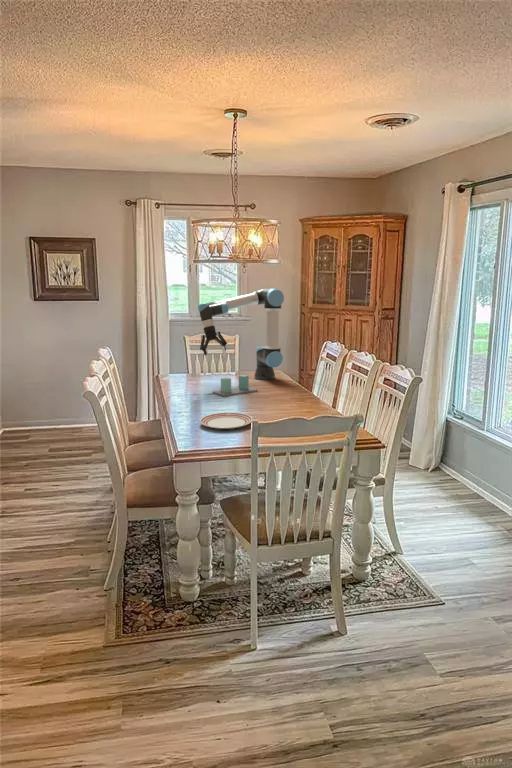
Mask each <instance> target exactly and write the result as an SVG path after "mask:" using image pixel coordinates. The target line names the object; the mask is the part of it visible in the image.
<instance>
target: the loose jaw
mask: <svg viewBox="0 0 512 768" xmlns="http://www.w3.org/2000/svg"><path fill="white" fill-rule="evenodd" d="M231 388H232V378H230V377H221V378H220V390H221V393H231Z"/></svg>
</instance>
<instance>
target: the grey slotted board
mask: <svg viewBox="0 0 512 768" xmlns="http://www.w3.org/2000/svg"><path fill="white" fill-rule="evenodd" d="M256 392H257V393H258V389H257V388H253V387H250V386H249V389H246V390H241V389H239V386H237V387H231V393H221V389H219V390H213V391H212V392H211V394H214V395H217V396H220V397H223V398H226V397H227V398H228V397H233V396H238V395H244V394H249V393H256Z"/></svg>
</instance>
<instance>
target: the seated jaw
mask: <svg viewBox="0 0 512 768" xmlns="http://www.w3.org/2000/svg"><path fill="white" fill-rule="evenodd" d="M249 385H250V383H249V375H247V374H241V375H238V387H239V389H241V390H246V389H249V387H250V386H249Z"/></svg>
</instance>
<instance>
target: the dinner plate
mask: <svg viewBox="0 0 512 768" xmlns="http://www.w3.org/2000/svg"><path fill="white" fill-rule="evenodd" d="M252 422H253V417H252V416H251V415H249V414H246V413H241V412H216V413H212V414H207V415H205V416H203V417H202V418H200V420H199V423H200V424H201V425H202V426H204V427H207V428H212V429H214V428H215V430H220V429H230V430H236V429H235V428H237V429H240V428H243V427H245V426H248V425H250V424H251V423H252ZM220 427H222V428H220ZM223 427H224V428H223Z"/></svg>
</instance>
